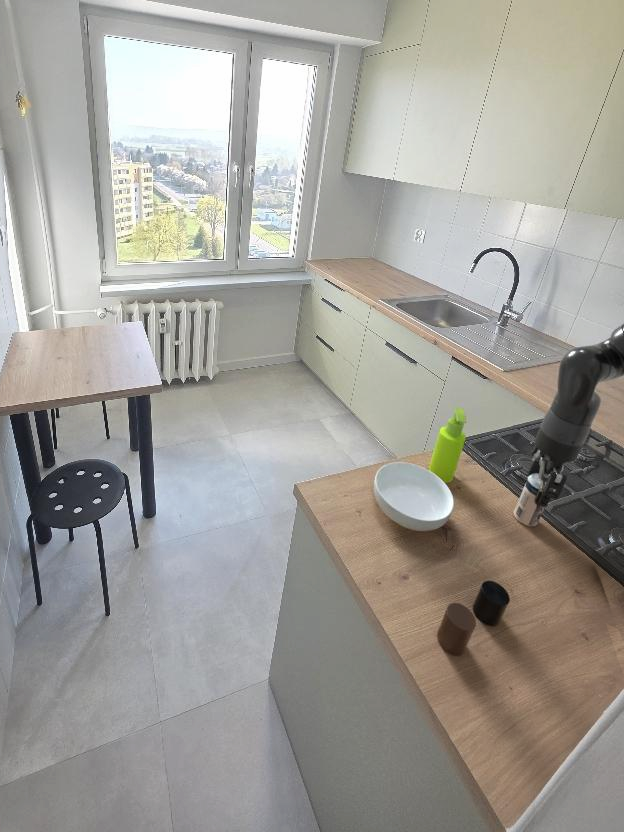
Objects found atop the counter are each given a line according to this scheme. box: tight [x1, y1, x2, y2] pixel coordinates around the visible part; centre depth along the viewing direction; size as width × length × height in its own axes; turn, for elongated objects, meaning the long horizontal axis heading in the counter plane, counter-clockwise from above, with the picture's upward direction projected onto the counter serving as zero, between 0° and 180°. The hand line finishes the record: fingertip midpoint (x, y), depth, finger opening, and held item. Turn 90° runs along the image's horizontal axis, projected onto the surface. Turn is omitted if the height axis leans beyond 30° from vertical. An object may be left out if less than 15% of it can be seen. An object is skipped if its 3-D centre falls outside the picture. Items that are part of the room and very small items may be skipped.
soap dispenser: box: [427, 407, 467, 483], centre depth 104 cm, size 6×7×20 cm
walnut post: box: [436, 602, 477, 657], centre depth 70 cm, size 4×4×7 cm
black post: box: [472, 580, 511, 627], centre depth 75 cm, size 4×4×6 cm
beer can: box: [513, 473, 551, 527], centre depth 94 cm, size 5×5×12 cm
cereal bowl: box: [373, 461, 455, 532], centre depth 95 cm, size 17×17×7 cm
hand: (536, 490), depth 93 cm, fingers open, 8 cm apart
